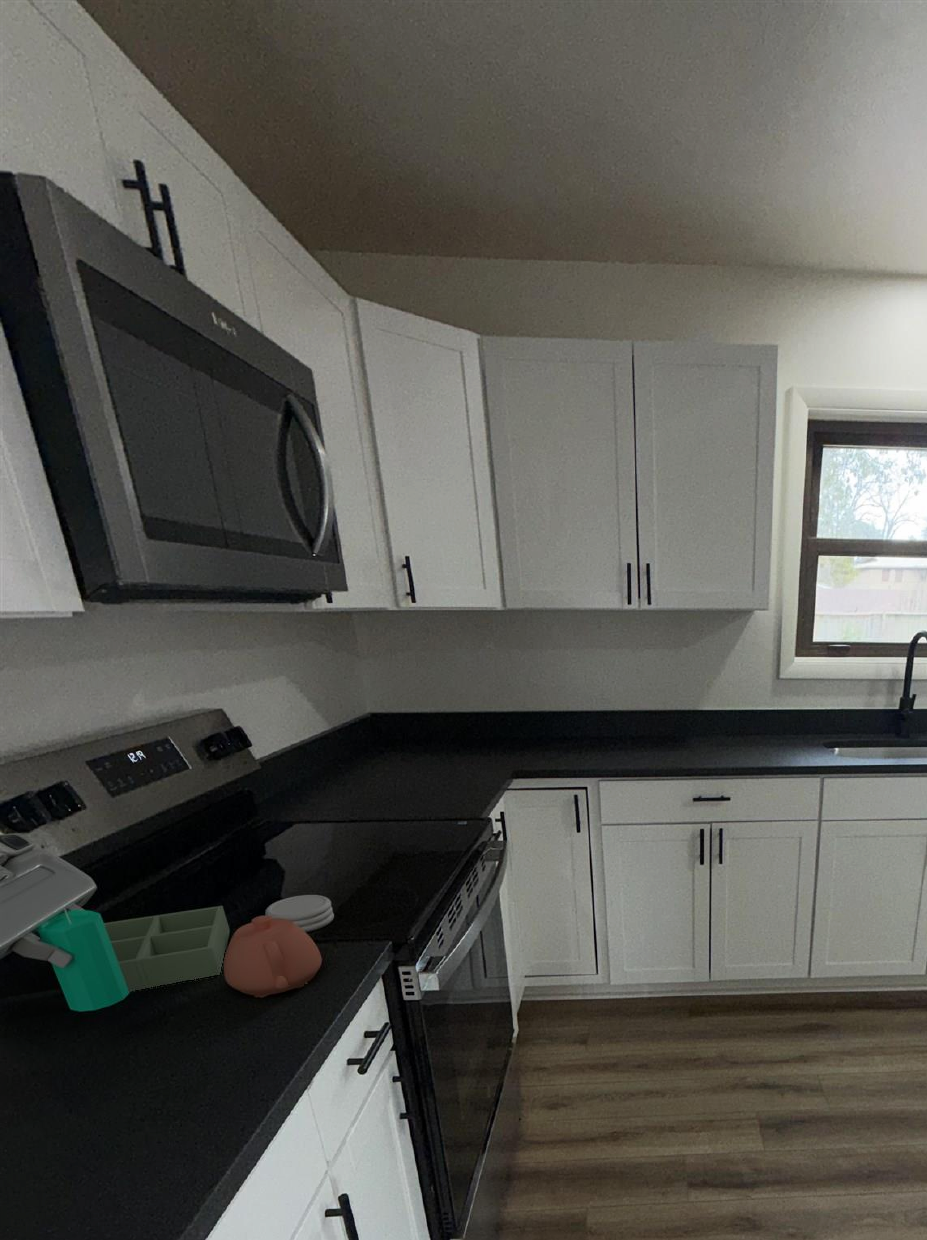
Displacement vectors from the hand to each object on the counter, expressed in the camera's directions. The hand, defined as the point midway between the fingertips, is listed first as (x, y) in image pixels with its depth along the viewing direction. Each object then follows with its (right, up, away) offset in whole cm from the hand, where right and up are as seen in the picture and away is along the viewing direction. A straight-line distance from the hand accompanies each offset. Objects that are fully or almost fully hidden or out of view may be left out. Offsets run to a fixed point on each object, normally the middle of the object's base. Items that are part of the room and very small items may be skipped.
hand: (86, 949), depth 88 cm
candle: (-1, -6, +3) cm, 7 cm away
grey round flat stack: (+4, +3, +40) cm, 40 cm away
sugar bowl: (+12, -6, +19) cm, 23 cm away
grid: (-11, -3, +26) cm, 28 cm away
